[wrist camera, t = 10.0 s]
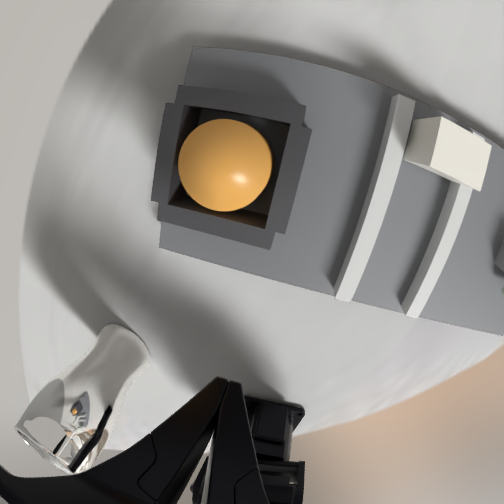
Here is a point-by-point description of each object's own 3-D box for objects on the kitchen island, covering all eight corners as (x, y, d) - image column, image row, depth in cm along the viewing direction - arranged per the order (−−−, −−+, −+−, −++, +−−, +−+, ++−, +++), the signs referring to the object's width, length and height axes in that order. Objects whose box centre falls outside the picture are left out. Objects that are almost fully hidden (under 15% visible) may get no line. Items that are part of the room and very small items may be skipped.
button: (264, 209, 16) (257, 221, 13) (189, 191, 16) (172, 200, 14) (283, 131, 14) (279, 129, 12) (203, 116, 14) (187, 112, 12)
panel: (493, 323, 18) (514, 353, 14) (171, 237, 20) (140, 262, 16) (547, 192, 13) (580, 206, 8) (204, 54, 15) (176, 34, 11)
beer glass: (106, 361, 28) (37, 455, 14) (92, 312, 25) (-2, 411, 11) (159, 378, 27) (96, 492, 13) (149, 329, 24) (58, 458, 10)
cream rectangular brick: (448, 179, 13) (480, 191, 10) (403, 159, 13) (429, 166, 10) (457, 141, 12) (491, 145, 9) (412, 119, 12) (441, 116, 9)
